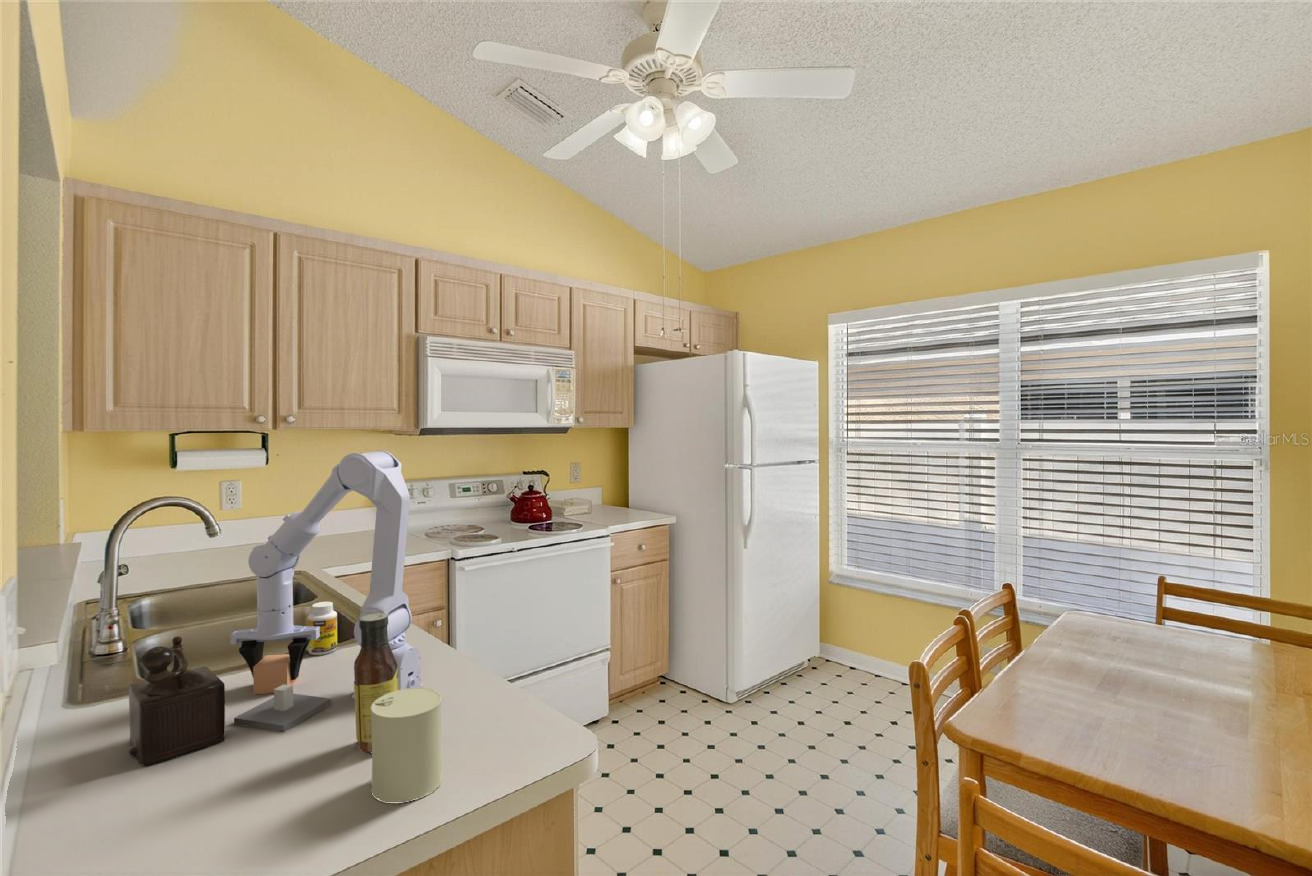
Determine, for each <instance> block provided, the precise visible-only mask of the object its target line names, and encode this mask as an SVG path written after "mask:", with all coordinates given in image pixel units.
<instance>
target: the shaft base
mask: <svg viewBox="0 0 1312 876" xmlns="http://www.w3.org/2000/svg"><path fill="white" fill-rule="evenodd" d="M331 699H332V698H328V697H320V696H314V695H309V694H308V695H306V694H302V693H301V694H299V693H294V685H293V686H291V685H282V686H280V687H278V688H276V689H274V693H273V697H271V698H270V699H268V700H266V701H263V702H262V703H260V704H258V705H256V706H254V707H252V708H250V709H249V710H247V711H246V710H245V711H244V712H243V713H241V714H238V715H237V716H235V717H234V718H233V725H238V726H239V725H240V726H246V727H252V728H258V729H259V728H260V729H265V730H272V731H277V732H278V731H279V732H286V731H288V730H290V729H291V728H293V727H295V726H297V725H298V724H300V723H301V722H303V721H305V720H306V719H308V718H310V717H312V716H314V715H315V714H316V713H319V712H320V711H322V710H323V709H325V708H327V707H329V706H330V705H331V703H332V702H331V701H332V700H331Z"/></svg>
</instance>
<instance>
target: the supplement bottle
mask: <svg viewBox="0 0 1312 876" xmlns="http://www.w3.org/2000/svg"><path fill="white" fill-rule="evenodd" d="M307 626H310V627H318V626H319V627H320V636H319V638H318V639H316V640H310V642H309V644H308V646H307V650H308V653H309V655H313V656H324V655H328V654H332V653H333V652H335V651H336V650H337V649H338V612H337V611H335V610H334V603H333V602H332V601H320V602H315V603H313V604H312V605H311V612H310V614H309V615H308V616H307Z"/></svg>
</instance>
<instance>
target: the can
mask: <svg viewBox="0 0 1312 876" xmlns="http://www.w3.org/2000/svg"><path fill="white" fill-rule="evenodd" d="M442 699H443V697H442V694H441V693H440V692H439V691H437V690H434V689H431V688H426V687H421V688H409V689H402V690H398V691H394V692H391V693H388V694H386V695H383V696H381V697H380V698H378V699H377V700H375V701H374V702H373V703H372V705H371V708H370V711H371V727H372V753H371V765H372V766H371V787H370V793H371V792H372V793H373V795H374V796H375V797H376V798H379V799H380V800H382V801H385V802H406V801H411V800H413V799H416V798H420V797H422V796H424V795H426V794H427V793H430V792H432V791H433V790H434V789H436V788H437V786H438V785H439V784H440V783H441V784H442V782H443V780H442V777H443V778H444V775H443V767H442V701H443V700H442ZM441 781H442V782H441ZM441 784H440V785H441ZM437 789H438V788H437ZM437 789H436V790H437ZM433 792H434V791H433ZM433 792H432V793H433Z"/></svg>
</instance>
